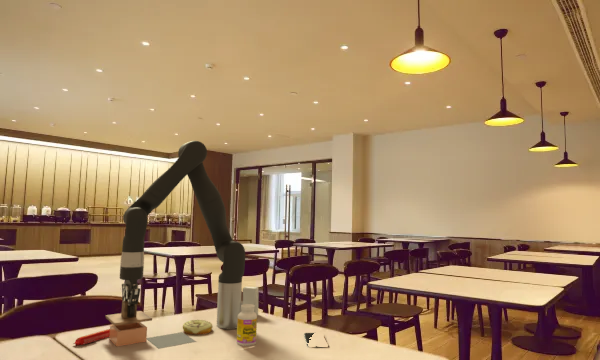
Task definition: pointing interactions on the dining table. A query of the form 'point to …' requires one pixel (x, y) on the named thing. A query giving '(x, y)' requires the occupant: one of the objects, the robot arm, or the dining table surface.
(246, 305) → the supplement bottle
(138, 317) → the lid
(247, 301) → the skincare box
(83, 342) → the candy bar
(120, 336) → the open box
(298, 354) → the dining table surface
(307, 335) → the smartphone
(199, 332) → the decorated donut
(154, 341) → the mat
